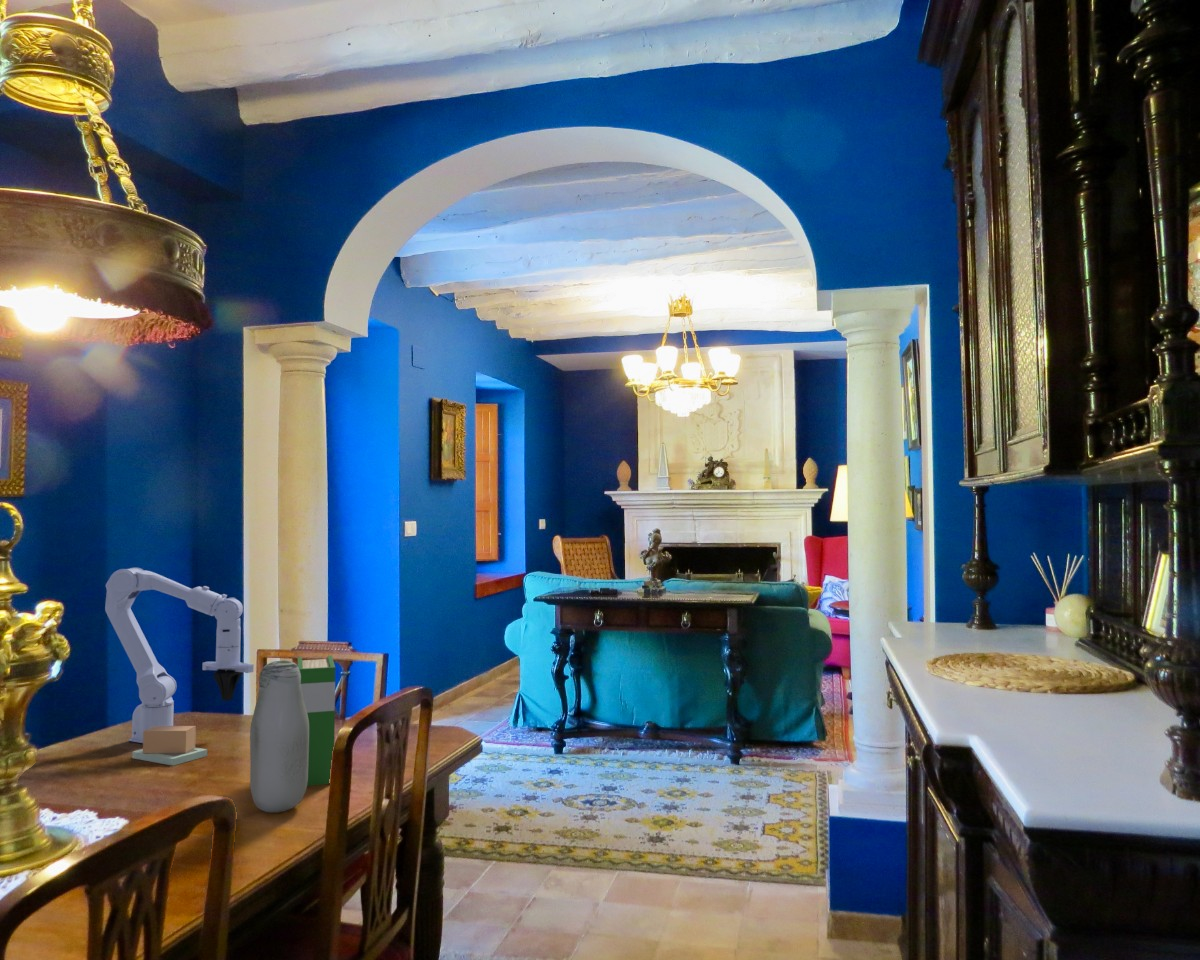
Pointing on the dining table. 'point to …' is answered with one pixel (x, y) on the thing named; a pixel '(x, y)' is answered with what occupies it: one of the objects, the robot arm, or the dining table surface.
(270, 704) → the gray bottle
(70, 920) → the dining table surface
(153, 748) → the block
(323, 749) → the hardback book
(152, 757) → the header board
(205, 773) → the dining table surface
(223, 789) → the dining table surface
